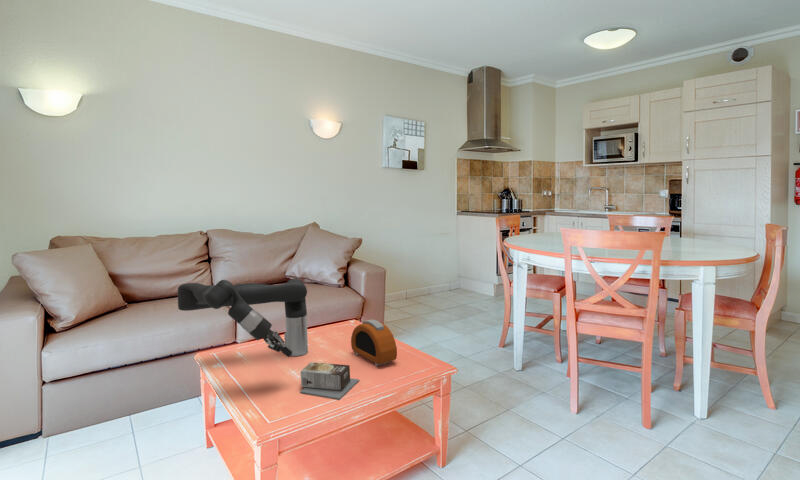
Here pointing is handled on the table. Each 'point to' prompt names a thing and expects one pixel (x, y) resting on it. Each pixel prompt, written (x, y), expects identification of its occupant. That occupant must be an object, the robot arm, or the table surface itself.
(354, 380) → the mat
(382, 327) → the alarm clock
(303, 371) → the coffee box
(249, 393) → the table surface
